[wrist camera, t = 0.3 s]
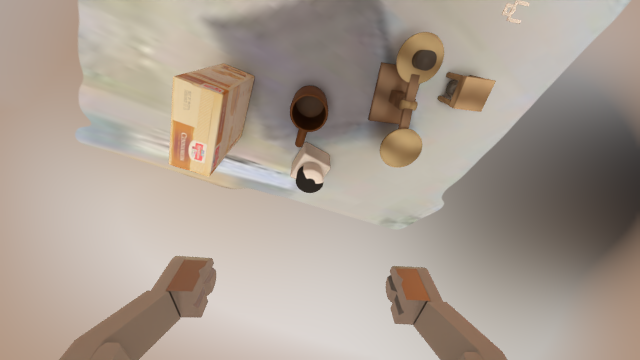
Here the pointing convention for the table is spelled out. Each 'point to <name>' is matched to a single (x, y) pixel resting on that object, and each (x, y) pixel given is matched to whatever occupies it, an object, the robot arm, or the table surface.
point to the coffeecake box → (207, 116)
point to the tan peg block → (469, 92)
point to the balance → (404, 95)
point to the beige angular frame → (513, 10)
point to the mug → (308, 111)
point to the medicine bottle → (310, 168)
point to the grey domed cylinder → (451, 87)
